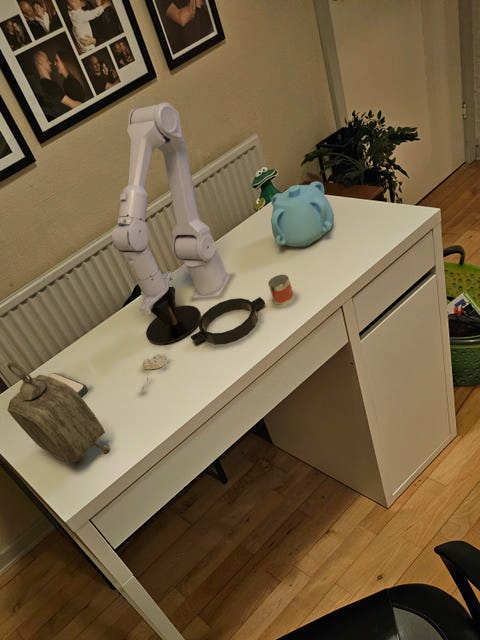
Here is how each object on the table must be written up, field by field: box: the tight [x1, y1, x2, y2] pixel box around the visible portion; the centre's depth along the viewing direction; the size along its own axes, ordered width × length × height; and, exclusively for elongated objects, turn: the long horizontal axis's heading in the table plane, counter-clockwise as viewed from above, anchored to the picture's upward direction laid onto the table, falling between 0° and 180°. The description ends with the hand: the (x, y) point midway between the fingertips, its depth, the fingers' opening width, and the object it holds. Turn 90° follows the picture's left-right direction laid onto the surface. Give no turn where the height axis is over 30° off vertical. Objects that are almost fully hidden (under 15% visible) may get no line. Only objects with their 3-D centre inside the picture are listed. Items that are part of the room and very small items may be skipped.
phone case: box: [47, 372, 88, 398], centre depth 132 cm, size 9×2×16 cm
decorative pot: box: [270, 181, 335, 248], centre depth 142 cm, size 16×16×14 cm
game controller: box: [141, 353, 168, 391], centre depth 124 cm, size 6×12×3 cm, turn 2°
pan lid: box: [145, 304, 202, 345], centre depth 134 cm, size 15×15×6 cm
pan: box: [190, 296, 266, 346], centre depth 127 cm, size 14×19×3 cm
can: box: [267, 274, 295, 307], centre depth 127 cm, size 5×5×6 cm
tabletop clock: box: [6, 361, 110, 463], centre depth 105 cm, size 14×9×25 cm, turn 52°
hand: (171, 320), depth 134 cm, fingers closed on pan lid, 2 cm apart
